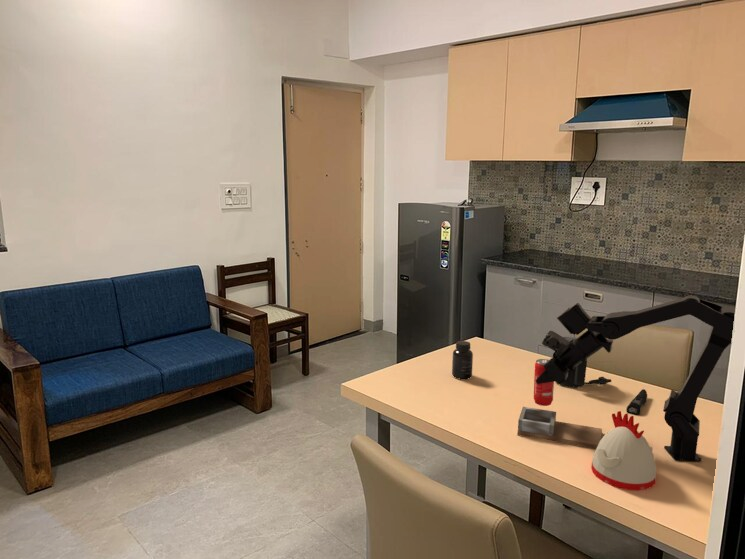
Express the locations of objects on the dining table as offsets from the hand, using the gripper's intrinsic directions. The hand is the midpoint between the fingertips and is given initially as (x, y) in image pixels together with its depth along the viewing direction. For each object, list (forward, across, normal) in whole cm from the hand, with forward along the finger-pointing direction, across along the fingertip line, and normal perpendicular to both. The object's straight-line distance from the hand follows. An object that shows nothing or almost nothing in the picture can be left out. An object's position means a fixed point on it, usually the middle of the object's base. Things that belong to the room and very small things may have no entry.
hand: (539, 379), depth 158 cm
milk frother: (+5, -35, +13) cm, 38 cm away
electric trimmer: (-7, -26, +26) cm, 38 cm away
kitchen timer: (-8, +17, +27) cm, 33 cm away
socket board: (+4, +4, +14) cm, 15 cm away
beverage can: (+4, 0, +6) cm, 7 cm away
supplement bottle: (+31, -22, -13) cm, 40 cm away
